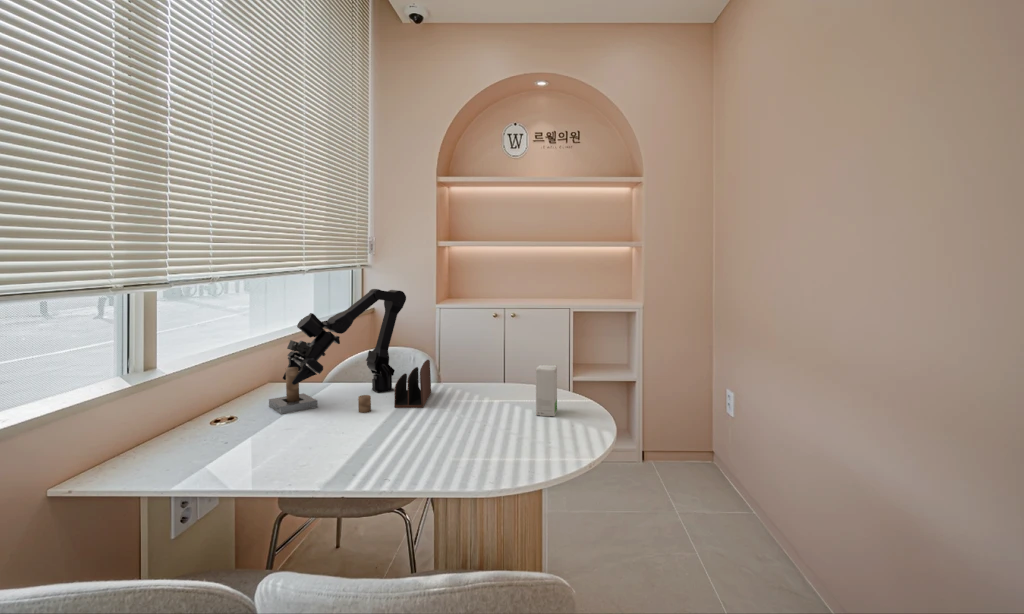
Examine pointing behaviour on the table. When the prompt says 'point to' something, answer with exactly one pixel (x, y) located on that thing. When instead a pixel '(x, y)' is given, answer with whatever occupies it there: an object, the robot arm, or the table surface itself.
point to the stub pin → (364, 403)
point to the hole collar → (292, 404)
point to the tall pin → (291, 389)
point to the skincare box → (546, 390)
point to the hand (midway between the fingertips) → (288, 381)
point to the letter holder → (413, 388)
